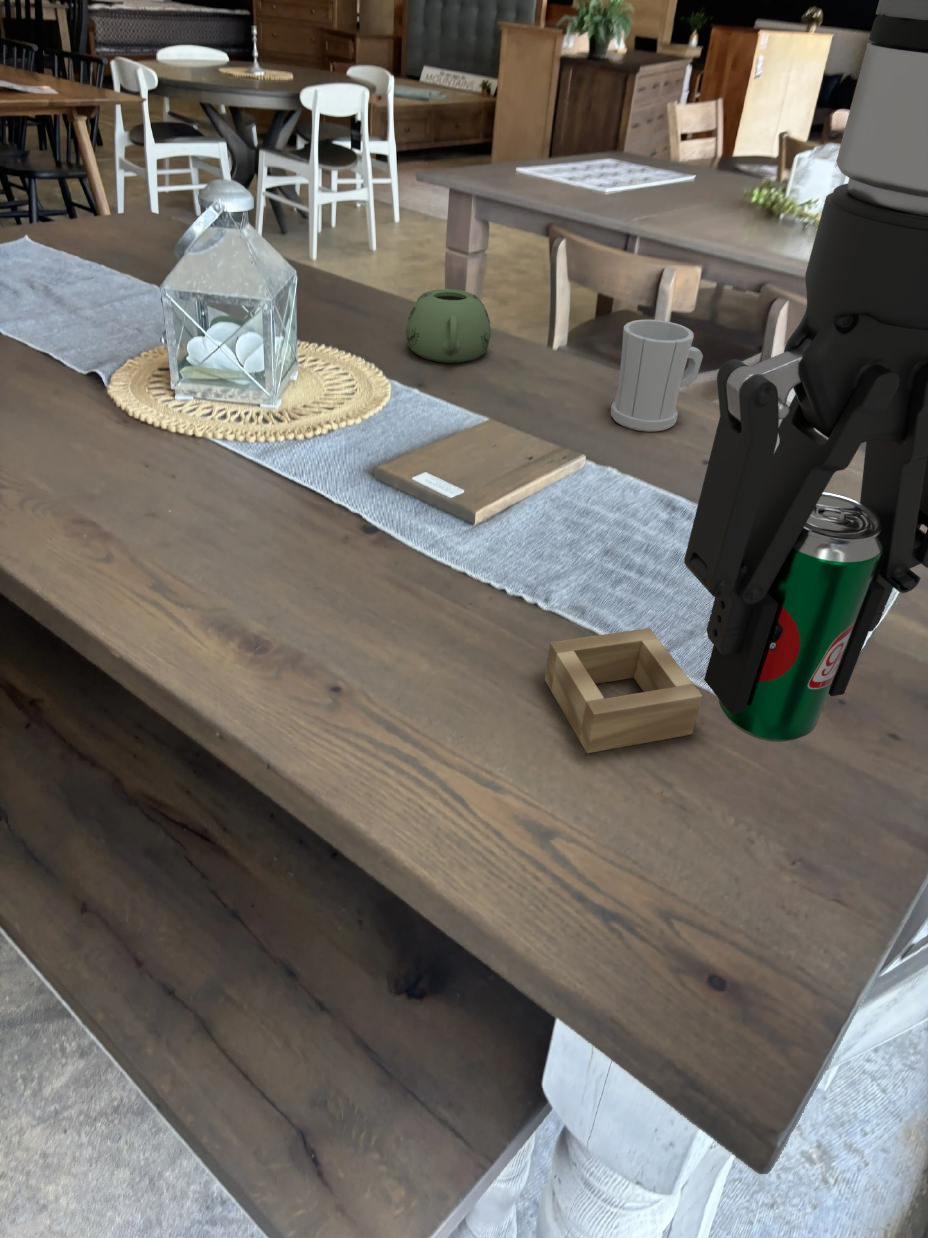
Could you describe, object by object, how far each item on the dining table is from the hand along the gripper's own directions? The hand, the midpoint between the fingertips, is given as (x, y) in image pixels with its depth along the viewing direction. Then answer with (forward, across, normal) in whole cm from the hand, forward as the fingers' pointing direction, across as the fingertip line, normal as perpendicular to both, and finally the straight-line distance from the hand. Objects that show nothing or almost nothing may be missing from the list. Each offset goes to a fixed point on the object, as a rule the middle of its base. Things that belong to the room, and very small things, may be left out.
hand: (774, 686), depth 46 cm
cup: (+20, -32, -73) cm, 82 cm away
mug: (+20, -12, -100) cm, 103 cm away
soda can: (+2, 0, 0) cm, 2 cm away
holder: (+19, -3, -20) cm, 28 cm away
